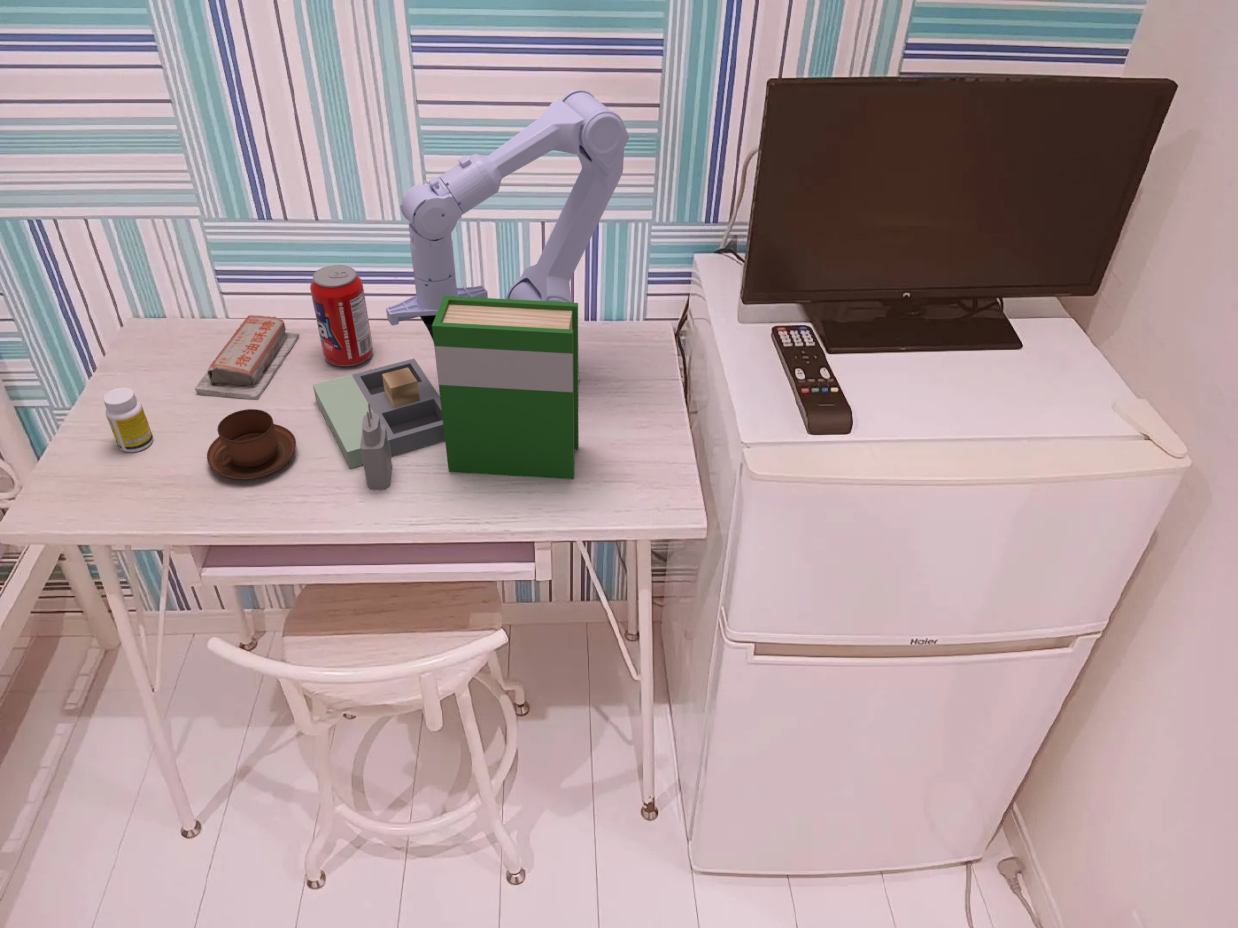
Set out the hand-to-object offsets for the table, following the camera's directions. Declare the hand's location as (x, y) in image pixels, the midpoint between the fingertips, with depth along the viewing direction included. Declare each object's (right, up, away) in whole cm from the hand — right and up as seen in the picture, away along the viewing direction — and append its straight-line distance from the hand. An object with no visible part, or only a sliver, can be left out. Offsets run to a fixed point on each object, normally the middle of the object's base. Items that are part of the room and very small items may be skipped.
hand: (443, 353), depth 146 cm
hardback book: (+11, -16, -5) cm, 20 cm away
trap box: (-9, -9, +2) cm, 13 cm away
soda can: (-18, +1, +14) cm, 23 cm away
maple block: (-6, -6, +1) cm, 9 cm away
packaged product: (-33, -1, +12) cm, 35 cm away
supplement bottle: (-43, -13, -4) cm, 46 cm away
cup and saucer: (-26, -16, -6) cm, 31 cm away
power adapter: (-7, -18, -8) cm, 21 cm away
